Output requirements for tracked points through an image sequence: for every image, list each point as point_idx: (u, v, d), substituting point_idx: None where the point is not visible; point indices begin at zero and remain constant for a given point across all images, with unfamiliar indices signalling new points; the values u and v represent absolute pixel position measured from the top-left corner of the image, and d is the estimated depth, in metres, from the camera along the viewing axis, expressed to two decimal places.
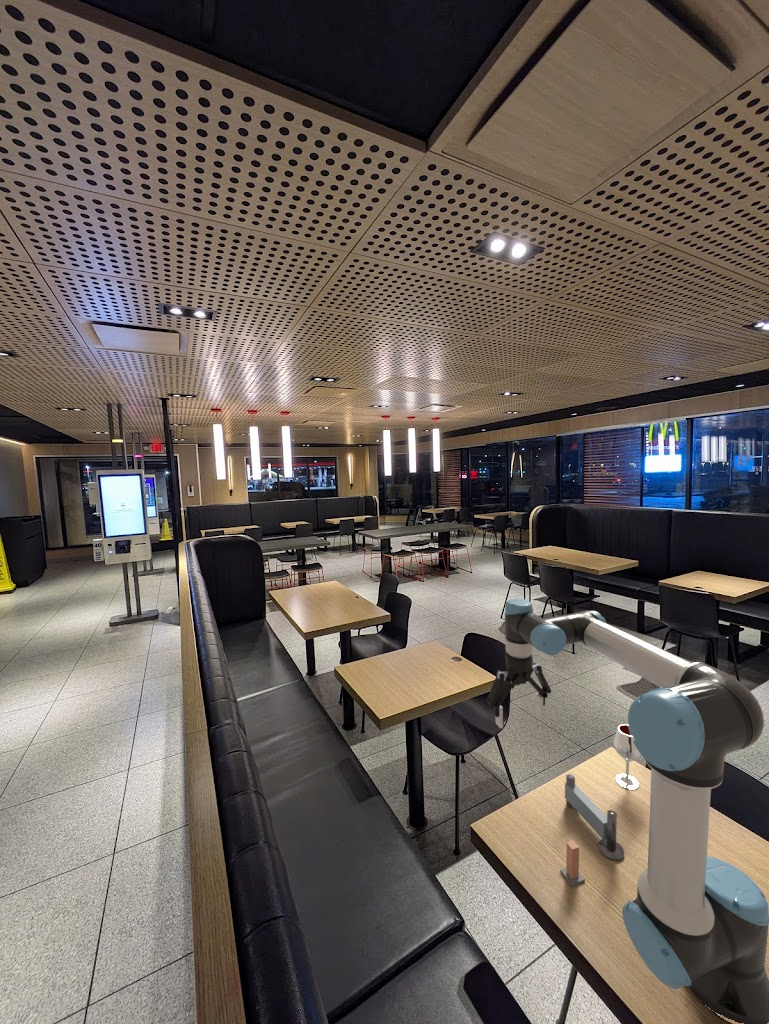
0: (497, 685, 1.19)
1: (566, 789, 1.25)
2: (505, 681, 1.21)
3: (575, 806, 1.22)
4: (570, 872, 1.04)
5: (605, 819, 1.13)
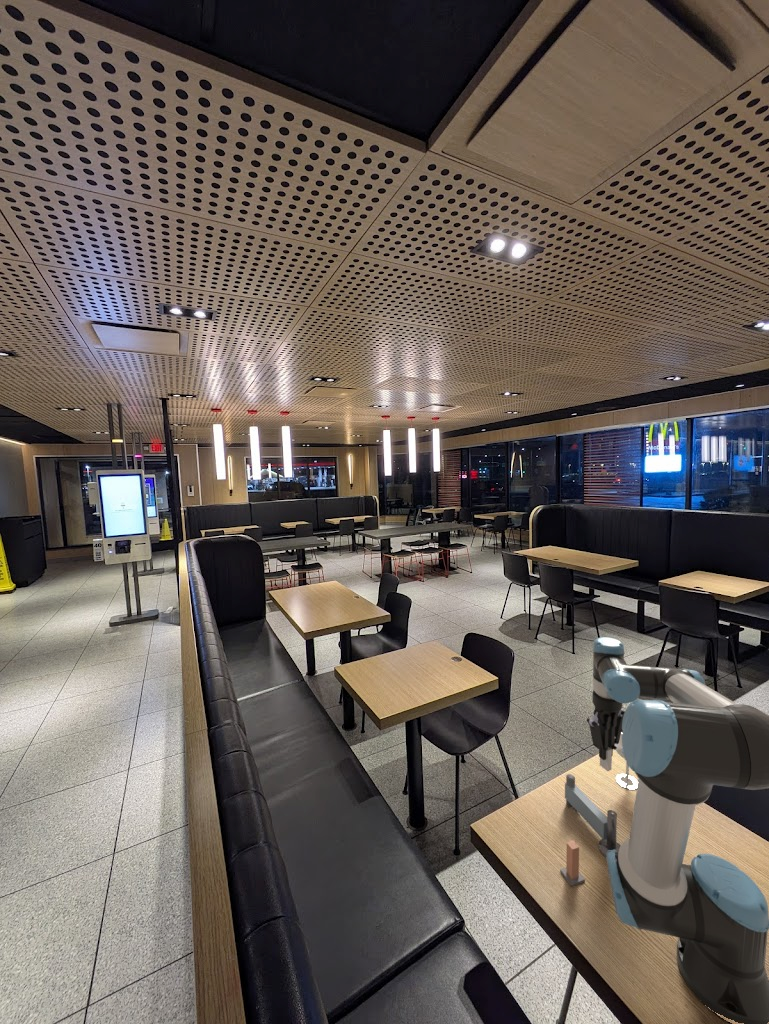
0: (595, 732, 1.17)
1: (566, 789, 1.25)
2: (598, 723, 1.20)
3: (575, 806, 1.22)
4: (570, 872, 1.04)
5: (605, 819, 1.13)
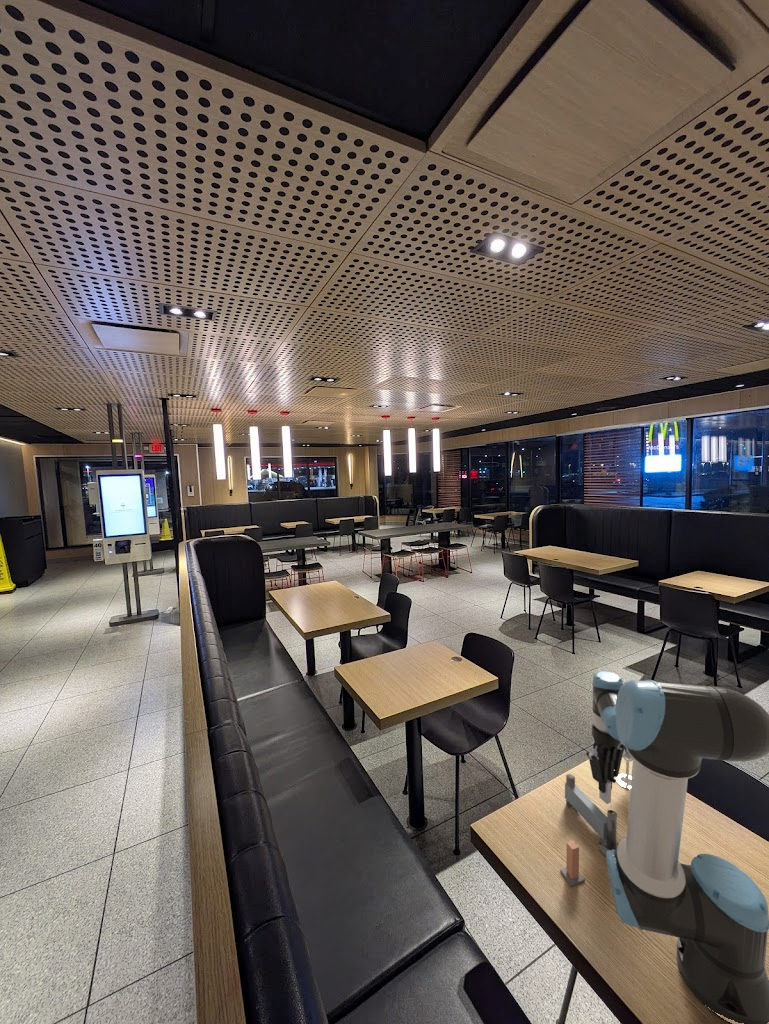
0: (595, 766, 1.18)
1: (566, 789, 1.25)
2: (598, 756, 1.21)
3: (575, 806, 1.22)
4: (570, 872, 1.04)
5: (605, 819, 1.13)
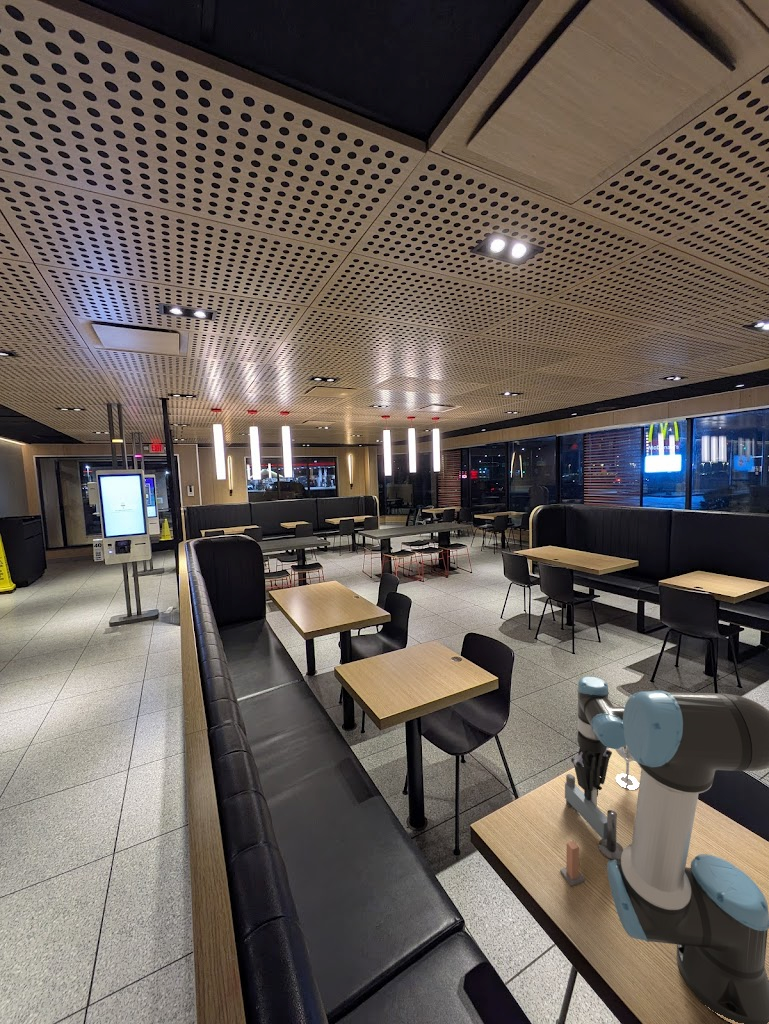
0: (580, 773, 1.17)
1: (566, 789, 1.25)
2: (583, 763, 1.19)
3: (575, 806, 1.22)
4: (570, 872, 1.04)
5: (605, 819, 1.13)
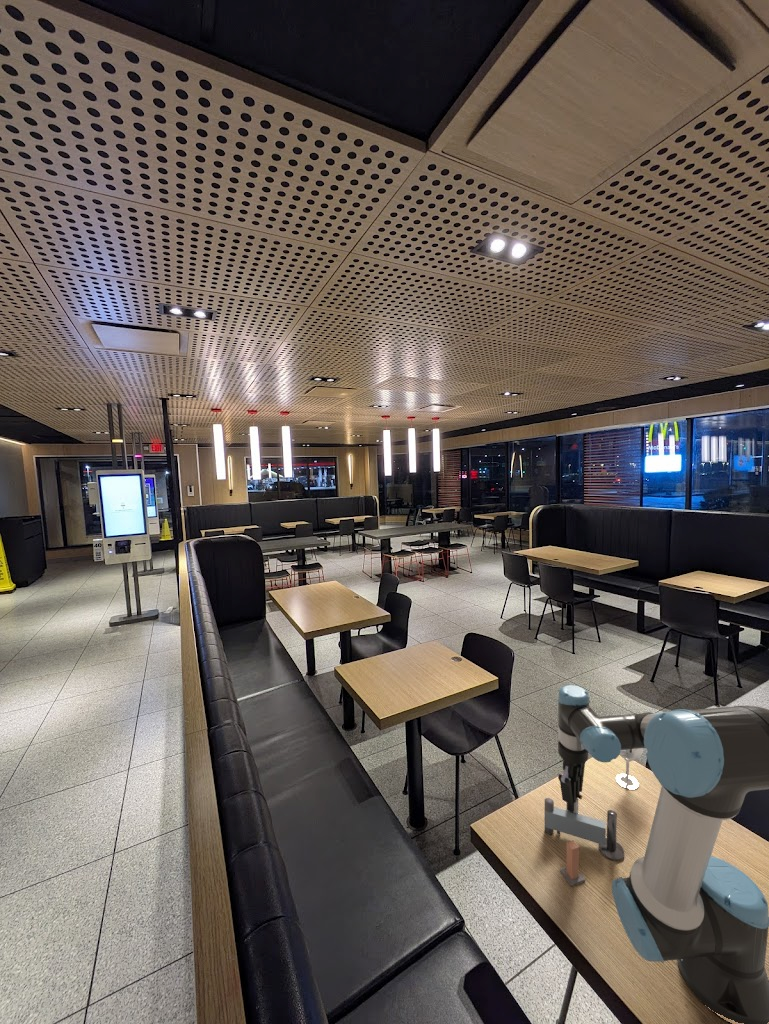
0: (567, 788, 1.11)
1: (547, 817, 1.16)
2: None
3: (562, 829, 1.15)
4: (570, 872, 1.04)
5: (601, 823, 1.12)
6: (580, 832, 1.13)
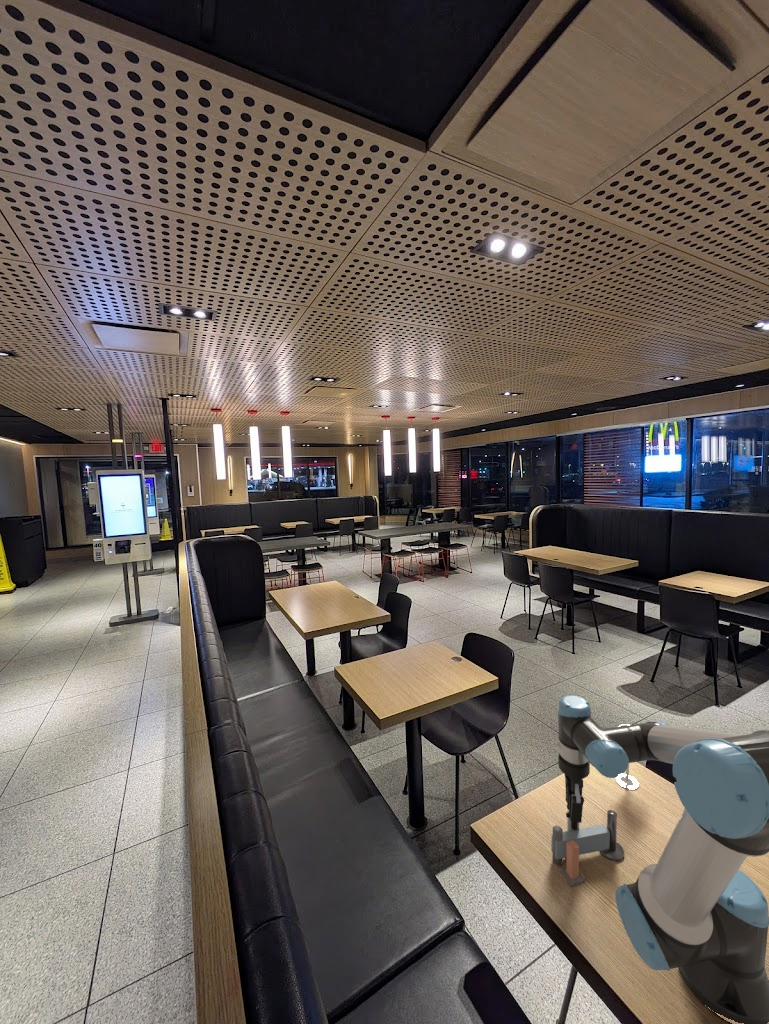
0: (580, 807, 1.05)
1: (558, 847, 1.07)
2: (570, 794, 1.08)
3: None
4: (570, 872, 1.04)
5: (603, 827, 1.10)
6: (588, 847, 1.09)
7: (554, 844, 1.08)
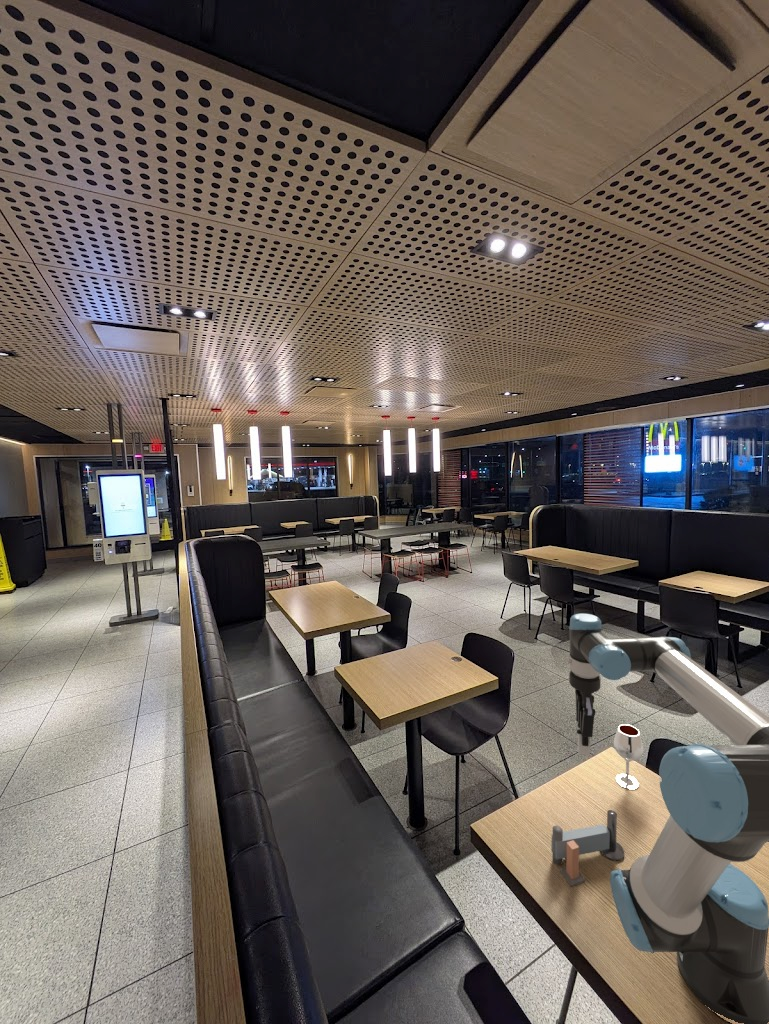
0: (591, 720, 1.07)
1: (558, 847, 1.07)
2: (581, 710, 1.11)
3: None
4: (570, 872, 1.04)
5: (603, 827, 1.10)
6: (588, 847, 1.09)
7: (554, 844, 1.08)
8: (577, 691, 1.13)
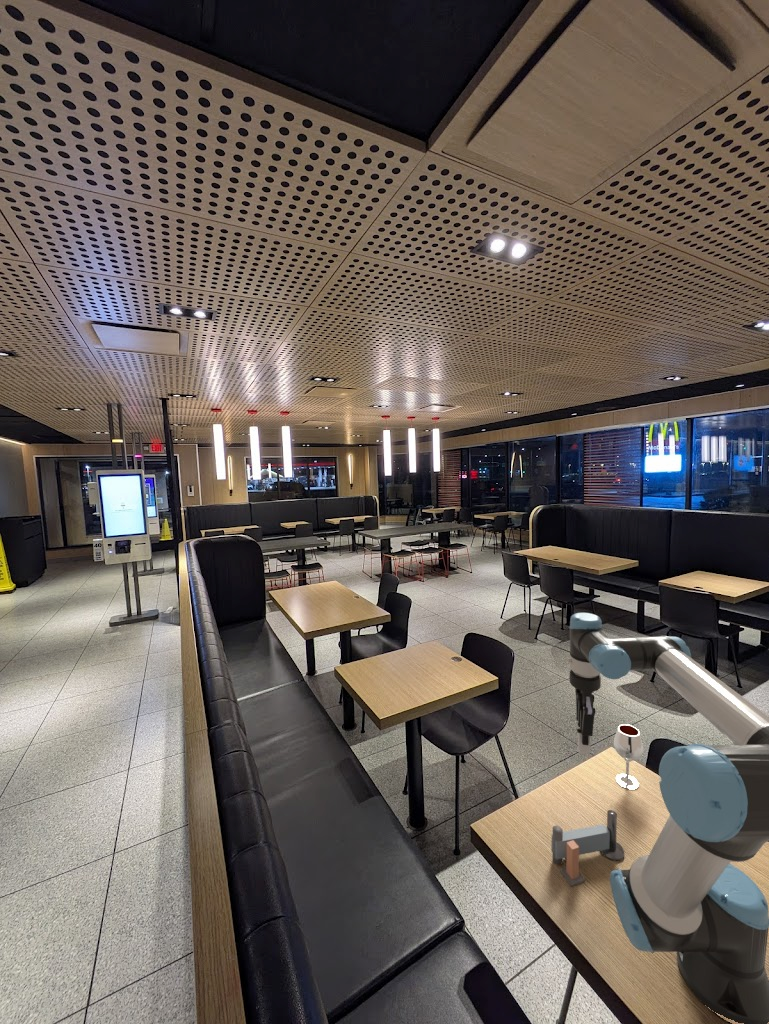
0: (591, 719, 1.07)
1: (558, 847, 1.07)
2: (582, 709, 1.11)
3: None
4: (570, 872, 1.04)
5: (603, 827, 1.10)
6: (588, 847, 1.09)
7: (554, 844, 1.08)
8: (577, 690, 1.13)
